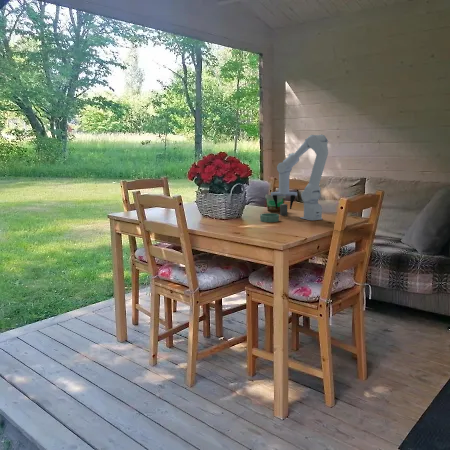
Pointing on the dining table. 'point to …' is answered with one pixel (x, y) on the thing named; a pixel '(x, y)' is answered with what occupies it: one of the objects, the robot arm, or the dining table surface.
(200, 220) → the dining table surface
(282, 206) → the cell
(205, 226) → the dining table surface
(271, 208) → the food container
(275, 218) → the green short cylinder
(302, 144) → the robot arm
